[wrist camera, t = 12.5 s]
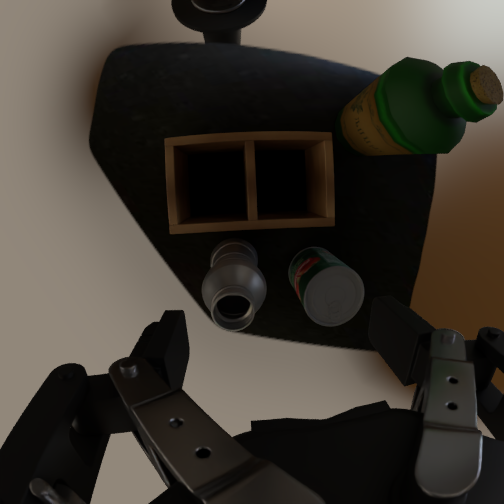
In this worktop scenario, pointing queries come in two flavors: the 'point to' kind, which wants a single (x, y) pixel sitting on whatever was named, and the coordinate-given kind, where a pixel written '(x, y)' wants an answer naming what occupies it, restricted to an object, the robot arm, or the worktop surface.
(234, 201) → the worktop surface
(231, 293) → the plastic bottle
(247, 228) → the bottle rack
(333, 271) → the canned tomato
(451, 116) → the bottle
